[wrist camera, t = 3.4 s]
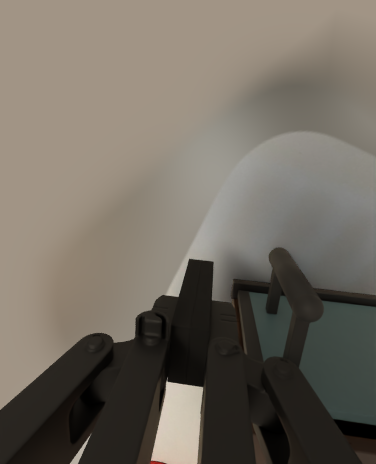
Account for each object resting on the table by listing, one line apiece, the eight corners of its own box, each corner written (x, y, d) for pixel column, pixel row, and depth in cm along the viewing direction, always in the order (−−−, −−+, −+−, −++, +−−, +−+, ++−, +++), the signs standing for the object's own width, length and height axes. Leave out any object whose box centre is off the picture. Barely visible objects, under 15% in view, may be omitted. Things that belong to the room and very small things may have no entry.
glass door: (246, 235, 23) (269, 309, 12) (428, 254, 22) (635, 355, 11) (237, 296, 25) (251, 407, 14) (405, 317, 24) (563, 456, 13)
